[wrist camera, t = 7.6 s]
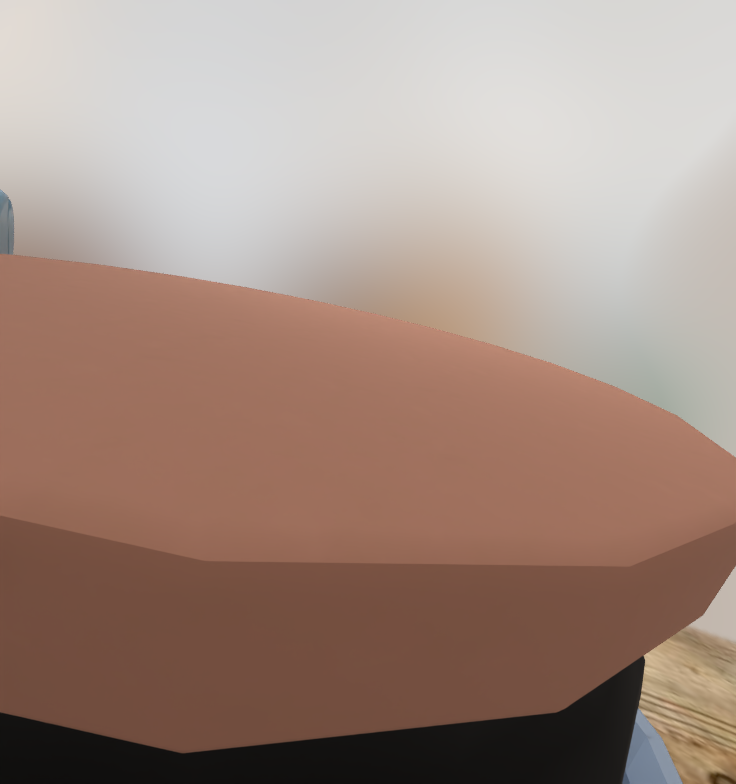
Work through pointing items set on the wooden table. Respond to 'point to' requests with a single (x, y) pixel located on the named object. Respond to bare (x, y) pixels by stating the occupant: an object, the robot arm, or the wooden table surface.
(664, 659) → the wooden table surface
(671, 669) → the wooden table surface
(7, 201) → the robot arm
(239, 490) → the coffee jar
